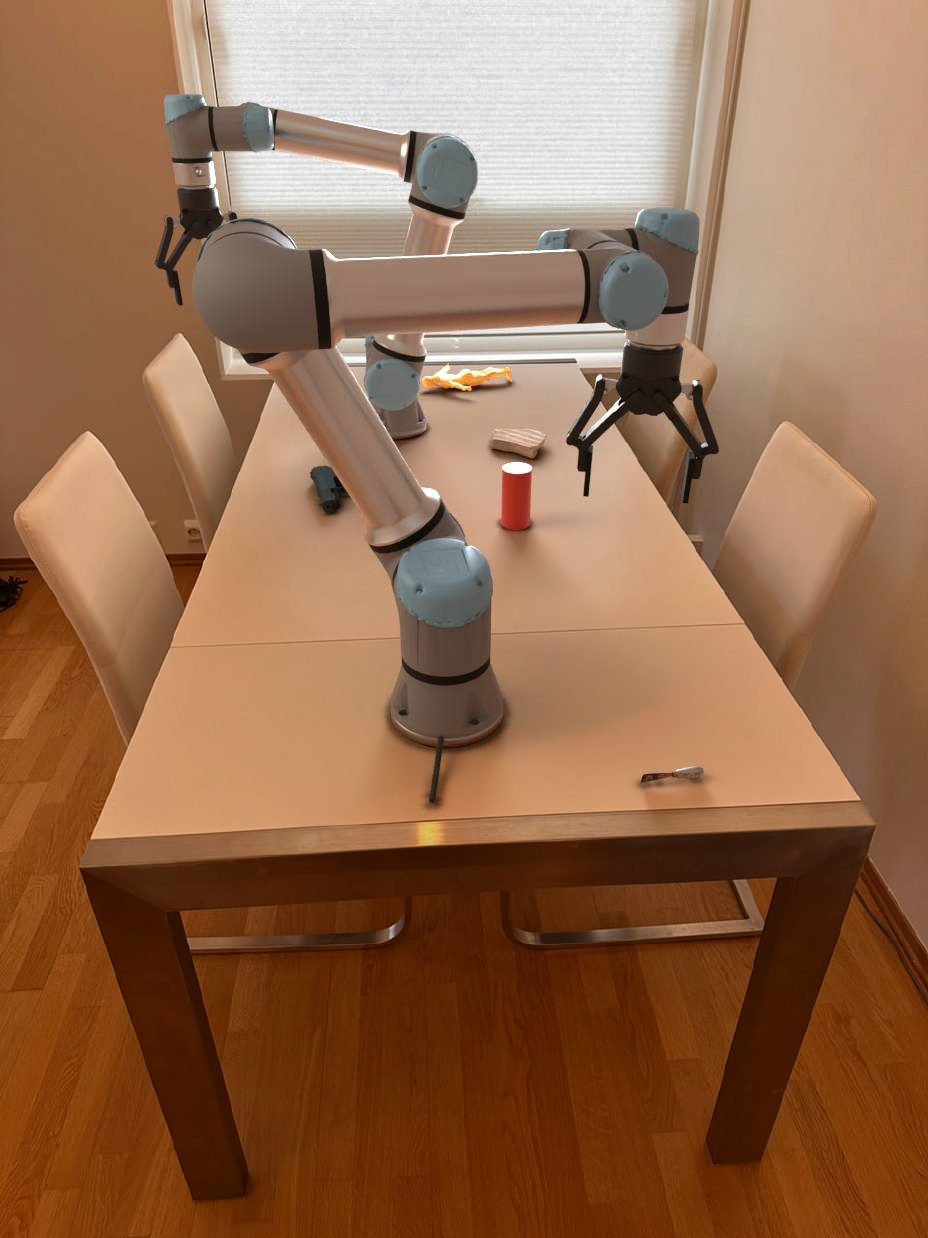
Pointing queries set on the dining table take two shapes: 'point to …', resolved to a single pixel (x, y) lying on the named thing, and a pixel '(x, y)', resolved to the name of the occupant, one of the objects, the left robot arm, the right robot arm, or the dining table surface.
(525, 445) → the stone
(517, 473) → the can
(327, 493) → the handgun
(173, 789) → the dining table surface
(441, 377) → the human figure
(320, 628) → the dining table surface
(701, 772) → the putty knife
